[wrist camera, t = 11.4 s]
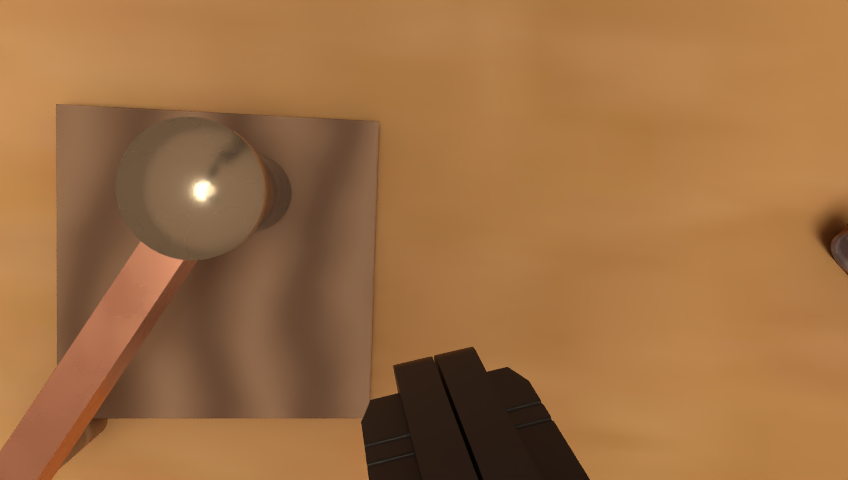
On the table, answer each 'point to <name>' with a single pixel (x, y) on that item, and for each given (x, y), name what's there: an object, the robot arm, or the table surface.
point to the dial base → (232, 276)
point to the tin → (841, 248)
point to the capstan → (150, 269)
